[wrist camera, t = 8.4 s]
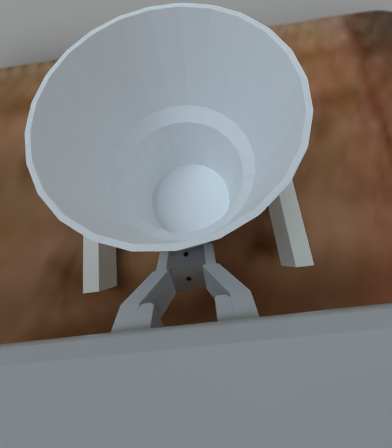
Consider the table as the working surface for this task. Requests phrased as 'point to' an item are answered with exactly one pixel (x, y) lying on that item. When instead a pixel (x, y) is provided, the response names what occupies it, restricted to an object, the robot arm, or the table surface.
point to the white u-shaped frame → (282, 226)
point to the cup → (168, 127)
